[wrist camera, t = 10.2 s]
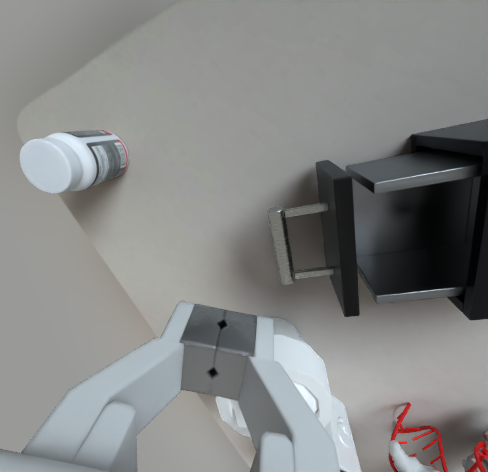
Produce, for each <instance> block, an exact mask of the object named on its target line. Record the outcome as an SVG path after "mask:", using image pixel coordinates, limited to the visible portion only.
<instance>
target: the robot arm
mask: <svg viewBox="0 0 488 472" xmlns="http://www.w3.org/2000/svg"><path fill="white" fill-rule="evenodd" d="M180 390H186V391H192V392H198V393H204V394H210V395H214V396H218V397H223V398H227V399H232V400H236V401H238V404H239V407H240V409H241V412H242V415H243V417H244V420H245V422H246V425H247V428H248V430H249V433H250V436H251V438H252V441H253V444H254V446H255V449H256V455H255V458H254V461H253V464H252V467H251V471H250V472H340V467H339V462H338V457H337V452H336V447H335V443H334V442H333V440H332V439H331V437H330V436H329V434H328V433H327V431H326V430H325V428H324V427H323V425H322V424H321V423H320V421H319V420H318V418H317V417H316V415H315V414H314V412H313V411H312V409H311V408H310V406H309V405H308V404H307V402H306V401H305V399H304V398H303V396H302V395H301V393H300V392H299V390H298V389H297V388H296V386H295V385H294V383H293V382H292V380H291V379H290V377H289V376H288V374H287V373H286V371H285V370H284V369H283V367H282V366H281V364H280V363H279V362H277V361H274V330H273V319H272V318H270V317H264V316H258V315H257V316H256V315H250V314H245V313H239V312H234V311H228V310H223V309H219V308H214V307H209V306H205V305H200V304H194V303H189V302H185V301H180V302H179V303H178V304H177V306H176V308H175V310H174V312H173V314H172V315H171V317H170V319H169V321H168V323H167V325H166V327H165V329H164V331H163V333H162V335H161V337H160V339H158V338H153V339H152V340H150V341H149V342H147V343H145V344H144V345H142V346H140V347H139V348H137V349H135V350H134V351H132V352H130V353H129V354H127V355H125V356H124V357H122V358H121V359H119V360H117V361H115V362H114V363H112V364H110V365H109V366H107V367H105V368H104V369H102V370H100V371H99V372H97V373H95V374H94V375H92V376H90V377H89V378H87V379H85V380H84V381H82V382H80V383H79V384H77V385H76V386H74V387H72V388H71V389H69V390H68V391H67V393H66V394H65V395H64V397H63V398H62V399H61V401H60V402H59V403H58V405H57V406H56V407H55V409H54V410H53V411H52V413H51V414H50V415H49V416H48V418H47V419H46V420H45V422H44V423H43V424H42V426H41V427H40V428H39V430H38V431H37V432H36V434H35V435H34V436H33V438H32V439H31V440H30V442H29V443H28V444H27V445H26V447H25V448H24V449H23V451H22V452H21V453H18V452H13V451H8V450H3V449H0V472H137V439H136V436H137V435H138V434H139V433H140V432H141V431H142V430H143V428H145V426H146V425H148V423H150V421H152V420H153V419H154V418H155V417H156V416H157V415H158V414H159V412H161V411H162V410H163V408H164V407H166V406H167V405H168V403H170V401H172V399H174V398H175V396H177V394H179V392H180Z"/></svg>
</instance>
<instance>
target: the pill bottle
mask: <svg viewBox="0 0 488 472" xmlns="http://www.w3.org/2000/svg"><path fill="white" fill-rule="evenodd" d="M128 163H129V155H128V151H127V149H126V147H125V145H124V143H123V142H122V141H121V140H120V139H119V138H118V137H117V136H116V135H115V134H113V133H111V132H108V131H104V130H94V131H76V132H60V133H54V134H51V135H49V136H47V137H46V138H42V139H35V140H31V141H29V142H27V143H26V144H25V145H24V146H23V147H22V149H21V152H20V164H21V168H22V170H23V172H24V174H25V176H26V178H27V179H28V180H29V181H30V182H31V183H32V184H33V185H34V186H35V187H37V188H38V189H40V190H41V191H44V192H47V193H52V194H57V193H62V192H65V191H80V190H84V189H87V188H90V187H92V186H95V185H97V184H100V183H102V182H105V181H108V180H111V179H114V178H116V177H118V176H120V175H122V174H123V173H124V172H125V170H126V169H127V167H128Z"/></svg>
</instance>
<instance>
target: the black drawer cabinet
mask: <svg viewBox="0 0 488 472" xmlns="http://www.w3.org/2000/svg"><path fill="white" fill-rule="evenodd" d="M432 149H441V150H447V151H453V152H459V153H465V154H471V155H477V156H483V164H482V171H481V179H480V186H479V194H478V202H477V209H476V217H475V224H474V232H473V239H472V247H471V254H470V262H469V269H468V277H467V284H466V292H465V295H460V296H450V297H447V298H448V299H449V300H450V301H451V302H452V303H453V304H454V305H455V306H456V307H457V308H458V309H459V310H460V311H461V312H463V314H464V315H465V316H466V317H467V318H468V319H469V320H481V319H488V119H486V120H481V121H476V122H471V123H466V124H461V125H456V126H451V127H447V128H442V129H437V130H432V131H427V132H422V133H417V134H412V144H411V153H416V152H421V151H426V150H432Z"/></svg>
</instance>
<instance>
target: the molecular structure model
mask: <svg viewBox="0 0 488 472" xmlns="http://www.w3.org/2000/svg"><path fill="white" fill-rule="evenodd" d="M410 406H411V404H410V403H408V404H407V406H406V407H405V409H404V411H403V412H402V413H401V414H400V415H399V416H398V417H397V419H399V420H398V421H397V424H396V426H395V429H394V432H393V434H392V437H391V440H390V443H389V461H390V464H391V467H392V468H393V470H394V472H398V471H397V469H396V468H395V466H394V464H393V463H395V465H396V466H397V468H398V469H399V471H400V472H441V471H440V470H439V469H437V468H436V467H435V466H431V467H429V466H426V465H422V464H421V463H420V462H419V461H418V460H417V459H416V458H415V457H413V456H416V455H417V454H412V455H409V456H407V455H406V454H405V452H404V451H403V450H402V448H401V446H400V444H403V443H407V441H405V442H397V441H395V437H396V434H397V433H410V432H416V431H421V430H426V429H431V431H429V432H427V433H424V434H422V435H420V436H418V437H415V438H413V439H412V440H413V441H414V440H416V439H418V438H420V437H423V436H425V435H427V434H429V433H432V432H434V431H435V432H436V434H437V435H438V438H437V439H436V440H434V441H433V442H431V443H430V444H428V445H427V446H426V447H424V448H423V449H422V450H423V451H424V450H425V449H426V448H428V447H429V446H431V445H432V444H434V443H435V442H437V441H438V445H439V450H440V455H439V456H438V457H437V458H435V459H434V460H433V461H431V462H430V464H433V463H434V462H435V461H437V460H438V459H439V458H441V462H442V466H443V470H444V472H448V470H447V467H446V462H445V458H444V451H443V447H442V436H441V434H440V433H439V431H438V430H437V429H436V428H434V427H432V426H422V427H419V428H406V430H403V429H404V428H403V426H402V425H401V423H402V421H403V419H404V417H405V415H406V414H407V412H408V410H409V408H410ZM399 426H400V428H401V430H398V429H399ZM484 437H485V439H486V440H487V441H486V442H485V443H484V442H483V441H480V442H478V443H477V445H476V447H475V448H474V453H473V455H472V456H468V457H467V459H466V460H463V461H462V464H463V467H464V468H465V472H488V430H487V431H486V433H484ZM481 447H482V449H480V448H481ZM392 458H393V460H392Z"/></svg>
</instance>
